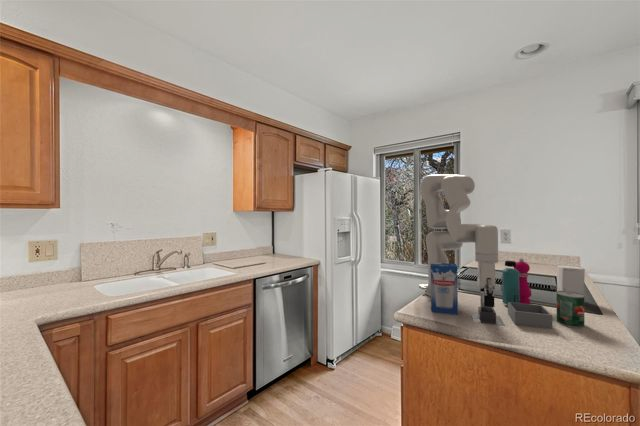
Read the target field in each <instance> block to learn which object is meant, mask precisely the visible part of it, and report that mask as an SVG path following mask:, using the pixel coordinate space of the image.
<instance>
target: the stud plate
mask: <svg viewBox="0 0 640 426" xmlns="http://www.w3.org/2000/svg"><path fill="white" fill-rule="evenodd" d="M470 315H471V318H472V321H473V323H477V324H478V323H479V324H484V325H485V324H486V325H493V326H494V325H496V326H501V327H502V326H506V325H505V323H504V321H503V320H502V318H501V316H500V315H496V322H489V321H480V319H479V316H478V312H477V313H476V312H475V313H474V312H470Z"/></svg>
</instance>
